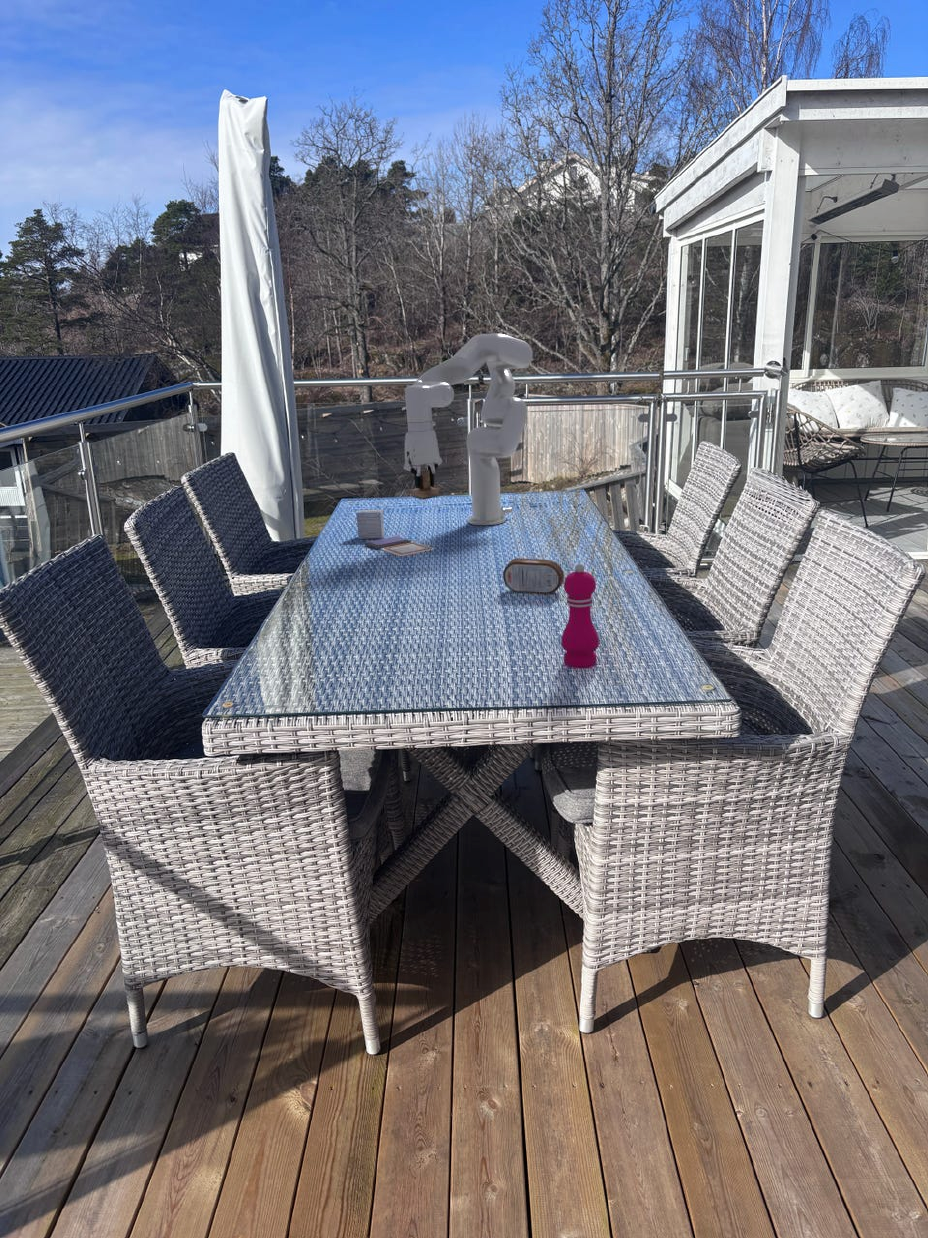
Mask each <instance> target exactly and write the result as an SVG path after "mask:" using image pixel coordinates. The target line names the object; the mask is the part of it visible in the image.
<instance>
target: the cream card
mask: <svg viewBox="0 0 928 1238" xmlns="http://www.w3.org/2000/svg"><path fill="white" fill-rule="evenodd" d="M434 549H435V548H434V547H432V546H431V547H430V546H428V545H425V544H422V543H418V542H416V541H411V543H406V544H401V545H395V546H390V547H385V548H381V549H380V550H381V551H384V552H386V553H390V554H393V555H395V556H398V557H400V558H401V557H405V556H410V555H417V554H421V553H425V551H426V552H431V551H435V550H434ZM430 550H431V551H430ZM420 552H421V553H420Z"/></svg>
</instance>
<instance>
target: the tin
mask: <svg viewBox="0 0 928 1238" xmlns="http://www.w3.org/2000/svg"><path fill="white" fill-rule="evenodd" d="M502 578H503V583H504V584H505V586H506V587H507V588H508V589H509V590H510V591H512V592H515V593H520V594H522V593H523V594H534V595H535V594H537V595H551V594H554V593H555V592H557V591H558V590H559V589H560V588H561V587H562V586H563V584H564V581H565V575H564V572H563V569H562V567H561V566H560V564H558V563H556V562H555V561H553V560H550V559H536V558H520V557H519V558H514V559H512V560H511V561H509V562H508V563H507V564H506V566H505V568H504V569H503V572H502Z"/></svg>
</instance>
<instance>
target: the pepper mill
mask: <svg viewBox="0 0 928 1238" xmlns="http://www.w3.org/2000/svg"><path fill="white" fill-rule="evenodd" d="M574 569H575V570H574V571H573V572H571V573H569V574H568V575H566V577H565V578H564V580H563V588H564V592H566V594H567V596H566V605H567V606H569V607H568V608H569V617H568V620H567V623H566V624H565V628H564V629H563V632H562V636H561V640H560V641H561V646H562V649H564V651H565V653H564V654H563V664H564V663H565V664H564V665H565V666H566V665H567V666H566V667H568V666H569V667H568V668H571V667H573V668H572V669H578V668H583V669H588V668H592V667H594V666H595V665H596V664H597V654H596V650H597V649H598V648H599V645H600V638H599V634H598V632H597V630H596V628H595V626H594V623H593V620H592V616H591V609H592V608H591V607H592V605H593V604H594V601H593V600H594V596H593V593H594V592H595V591H596V586H597V584H596V583H597V582H596V579H595V577H594V576H593V575H592V573H589V572H588V571H585V566H584V564H582V563H577V564H576V565H575V568H574Z"/></svg>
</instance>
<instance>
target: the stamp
mask: <svg viewBox="0 0 928 1238" xmlns="http://www.w3.org/2000/svg"><path fill="white" fill-rule="evenodd" d="M420 476H422V481H423V489H419V488H414V489H413V488H412V489H411V492H412V494H411V495H412V498H415V499H419V500H423V501H424V500H428V499H433V498H438V497H440V489H439V488H437V487H431V485H430V473H429V470H427V469H424V470H421V469H420Z"/></svg>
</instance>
